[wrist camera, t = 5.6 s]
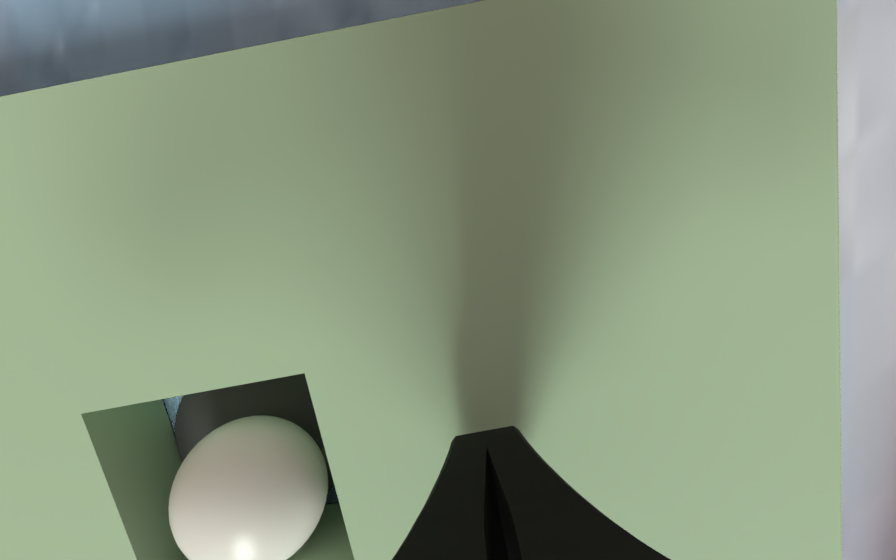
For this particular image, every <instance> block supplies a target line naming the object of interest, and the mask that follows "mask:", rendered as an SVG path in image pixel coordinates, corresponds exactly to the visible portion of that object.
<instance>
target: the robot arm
mask: <svg viewBox="0 0 896 560" xmlns="http://www.w3.org/2000/svg"><path fill="white" fill-rule="evenodd" d="M392 560H671V559H669V558H667V557H666V556H664V555H662V554H661V553H659V552H657V551H656V550H654V549H652V548H651V547H649V546H648V545H646V544H645V543H643V542H642V541H640V540H639V539H637V538H636V537H634V536H633V535H632V534H630V533H629V532H627V531H626V530H624V529H623V528H622V527H620V526H619V525H617V524H616V523H615V522H613V521H612V520H611V519H609V518H608V517H607V516H606V515H604V514H603V513H602V512H600V511H599V510H598V509H597V508H595V507H594V506H593V505H592V504H591V503H590V502H588V501H587V500H586V499H585V498H584V497H582V496H581V495H580V494H579V493H578V492H577V491H575V490H574V489H573V488H572V487H571V486H570V485H569V484H568V483H567V482H566V481H565V480H564V479H563V478H561V477H560V476H559V475H558V474H557V473H556V472H555V471H554V470H553V469H552V468H551V467H550V466H549V465H548V464H547V463H546V462H545V461H544V460H543V459H542V457H541V456H540V455H539V454H538V453H537V452H536V451H535V450H534V449H533V447H532V446H531V445H530V444H529V443H528V441H527V440H526V439H525V438H524V436H523V435H522V433H521V432H520V430H519V429H517V428H516V427H515V426H508V427H502V428H497V429H491V430H486V431H480V432H475V433H469V434H464V435H458V436H455V438H454V439H453V440H452V442H451V445H450V448H449V451H448V454H447V457H446V459H445V462H444V464H443V467H442V469H441V471H440V474H439V476H438V478H437V480H436V482H435V484H434V487H433V489H432V491H431V493H430V495H429V497H428V499H427V501H426V503H425V505H424V507H423V509H422V510H421V512H420V514H419V516H418V517H417V519H416V521H415V523H414V524H413V526H412V528H411V530H410V531H409V533H408V535H407V537H406V538H405V540H404V542H403V543H402V545H401V546H400V548H399V549H398V551H397V553H396V554H395V556H394V557H393V559H392Z"/></svg>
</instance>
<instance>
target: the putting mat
mask: <svg viewBox="0 0 896 560" xmlns="http://www.w3.org/2000/svg"><path fill="white" fill-rule="evenodd" d="M182 395H184V397H183V399H182V401H181V403H180V406H179V409H178V412H177V416H176V422H175V436H174V433H173V430H172V427H171V424H170V421H169V418H168V415H167V412H166V409H165V406H164V403H163V401H162V399H165V398H171V397H176V396H182ZM261 415H265V416H274V417H279V418H283V419H285V420H288V421H291V422H293V423H294V424H296V425H298V426H300V427H301V428H302V429H303V430H305V431H306V432H307V433H308V434H309V435H310V436H311V437H312V438H313V439H314V441H315V442H316V444H317V445H318V446H319V448H320V450H321V452H322V455H323V457H324V460H325V463H326V468H327V474H328V491H329V490H331V488H332V487H333V486H334V485H335V489H336V493H337V496H338V500H339V503H333V504H327V505H325V507H324V510H323V513H322V515H321V518H320V520H319V522H318V524H317V526H316V528H315V530H314V531H313V533H312V534H311V536H310V537H309V538H308V540H307V541H306V542H305V543H304V544H303V546H302V547H301V548H300V549H299V550H298V551H297V552H295V553H294V554H293V555H292V556H291V557H290V558H288V559H287V560H392V559H393V557H394V556H395V554H396V553H397V551H398V549H399V548H400V546H401V545H402V543H403V542H404V540H405V538H406V537H407V535H408V533H409V531H410V530H411V528H412V526H413V524H414V523H415V521H416V519H417V517H418V516H419V514H420V512H421V510H422V509H423V507H424V505H425V503H426V501H427V499H428V497H429V495H430V493H431V491H432V489H433V487H434V484H435V482H436V480H437V478H438V476H439V474H440V471H441V469H442V467H443V464H444V462H445V459H446V457H447V454H448V451H449V448H450V445H451V442H452V440H453V439H454V438H455V436H458V435H464V434H469V433H475V432H480V431H486V430H491V429H497V428H502V427H508V426H515V427H516V428H517V429H519V430H520V432H521V433H522V435H523V436H524V438H525V439H526V440H527V441H528V443H529V444H530V445H531V446H532V447H533V449H534V450H535V451H536V452H537V453H538V454H539V455H540V456H541V457H542V459H543V460H544V461H545V462H546V463H547V464H548V465H549V466H550V467H551V468H552V469H553V470H554V471H555V472H556V473H557V474H558V475H559V476H560V477H561V478H563V479H564V480H565V481H566V482H567V483H568V484H569V485H570V486H571V487H572V488H573V489H574V490H575V491H577V492H578V493H579V494H580V495H581V496H582V497H584V498H585V499H586V500H587V501H588V502H590V503H591V504H592V505H593V506H594V507H595V508H597V509H598V510H599V511H600V512H602V513H603V514H604V515H606V516H607V517H608V518H609V519H611V520H612V521H613V522H615V523H616V524H617V525H619V526H620V527H622V528H623V529H624V530H626V531H627V532H629V533H630V534H632V535H633V536H634V537H636V538H637V539H639V540H640V541H642V542H643V543H645V544H646V545H648V546H649V547H651V548H652V549H654V550H656V551H657V552H659V553H661V554H662V555H664V556H666V557H667V558H669V559H671V560H842V510H841V409H840V308H839V207H838V106H837V5H836V0H483V1H478V2H473V3H468V4H463V5H458V6H453V7H448V8H443V9H438V10H433V11H428V12H423V13H418V14H413V15H408V16H403V17H398V18H393V19H388V20H383V21H378V22H373V23H368V24H362V25H357V26H352V27H347V28H342V29H337V30H332V31H327V32H322V33H317V34H312V35H307V36H302V37H297V38H292V39H287V40H282V41H277V42H272V43H267V44H262V45H257V46H252V47H247V48H242V49H237V50H232V51H227V52H222V53H217V54H212V55H207V56H202V57H197V58H192V59H187V60H182V61H177V62H172V63H167V64H162V65H157V66H152V67H147V68H142V69H137V70H132V71H127V72H122V73H116V74H111V75H106V76H101V77H96V78H91V79H86V80H81V81H76V82H71V83H66V84H61V85H56V86H51V87H46V88H41V89H36V90H31V91H26V92H21V93H16V94H11V95H6V96H1V97H0V560H189V559H188V558H187V557H186V556H185V555H184V554H183V552H182V551H181V550H180V548H179V547H178V545H177V543H176V541H175V539H174V536H173V534H172V531H171V527H170V523H169V510H168V506H169V497H170V492H171V488H172V484H173V481H174V479H175V476H176V474H177V471H178V469H179V468H180V466H181V464H182V462H183V461H184V459H185V458H186V457H187V455H188V454H189V452H190V451H191V450H192V449H193V448H194V447H195V446H196V444H197V443H198V442H199V441H201V440H202V439H203V438H204V437H205V436H206V435H208V434H209V433H211V432H212V431H213V430H215V429H216V428H218V427H220V426H222V425H224V424H226V423H228V422H231V421H233V420H236V419H240V418H243V417H249V416H261ZM175 438H176V439H175Z"/></svg>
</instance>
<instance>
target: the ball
mask: <svg viewBox="0 0 896 560" xmlns="http://www.w3.org/2000/svg"><path fill="white" fill-rule="evenodd" d="M327 492H328V474H327V468H326V463H325V460H324V457H323V455H322V452H321V450H320V448H319V446H318V445H317V444H316V442H315V441H314V439H313V438H312V437H311V436H310V435H309V434H308V433H307V432H306V431H305V430H303V429H302V428H301V427H300V426H298V425H296V424H294V423H293V422H291V421H288V420H285V419H283V418H279V417H274V416H265V415H261V416H249V417H243V418H240V419H236V420H233V421H231V422H228V423H226V424H224V425H222V426H220V427H218V428H216V429H215V430H213V431H212V432H211V433H209V434H208V435H206V436H205V437H204V438H203V439H202V440H201V441H199V442H198V443H197V444H196V446H195V447H194V448H193V449H192V450H191V451H190V452H189V454H188V455H187V457H186V458H185V459H184V461H183V462H182V464H181V466H180V468H179V469H178V471H177V474H176V476H175V479H174V481H173V484H172V488H171V492H170V497H169V506H168V510H169V523H170V527H171V531H172V534H173V536H174V539H175V541H176V543H177V545H178V547H179V548H180V550H181V551H182V552H183V554H184V555H185V556H186V557H187V558H188V559H189V560H287V559H288V558H290V557H291V556H292V555H293V554H294V553H295V552H297V551H298V550H299V549H300V548H301V547H302V546H303V544H304V543H305V542H306V541H307V540H308V538H309V537H310V536H311V534H312V533H313V531H314V530H315V528H316V526H317V524H318V522H319V520H320V518H321V515H322V513H323V510H324V507H325V503H326V499H327Z"/></svg>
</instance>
